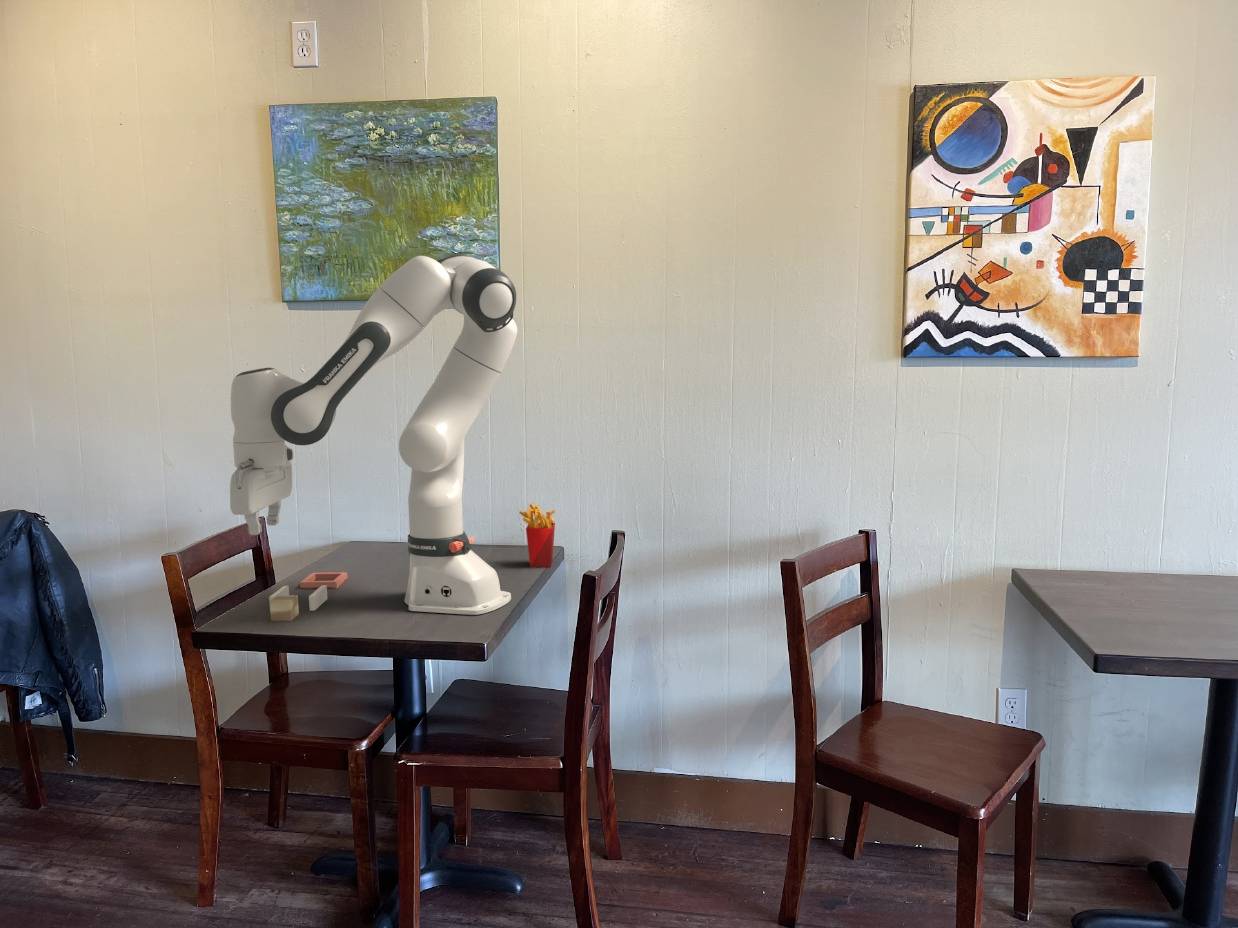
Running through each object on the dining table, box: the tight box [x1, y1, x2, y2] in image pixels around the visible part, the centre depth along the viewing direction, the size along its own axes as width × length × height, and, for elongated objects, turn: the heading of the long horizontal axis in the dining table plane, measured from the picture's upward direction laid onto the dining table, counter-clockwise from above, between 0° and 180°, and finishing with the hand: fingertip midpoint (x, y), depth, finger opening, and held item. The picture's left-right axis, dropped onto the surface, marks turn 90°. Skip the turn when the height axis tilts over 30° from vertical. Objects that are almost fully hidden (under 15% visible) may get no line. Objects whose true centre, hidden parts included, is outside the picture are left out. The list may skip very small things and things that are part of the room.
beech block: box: [269, 594, 300, 622], centre depth 169 cm, size 4×4×4 cm
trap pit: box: [299, 571, 348, 590], centre depth 193 cm, size 8×8×2 cm
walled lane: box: [268, 585, 328, 612], centre depth 177 cm, size 8×9×3 cm
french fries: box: [519, 503, 556, 569], centre depth 206 cm, size 9×8×15 cm
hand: (264, 529), depth 160 cm, fingers open, 7 cm apart
